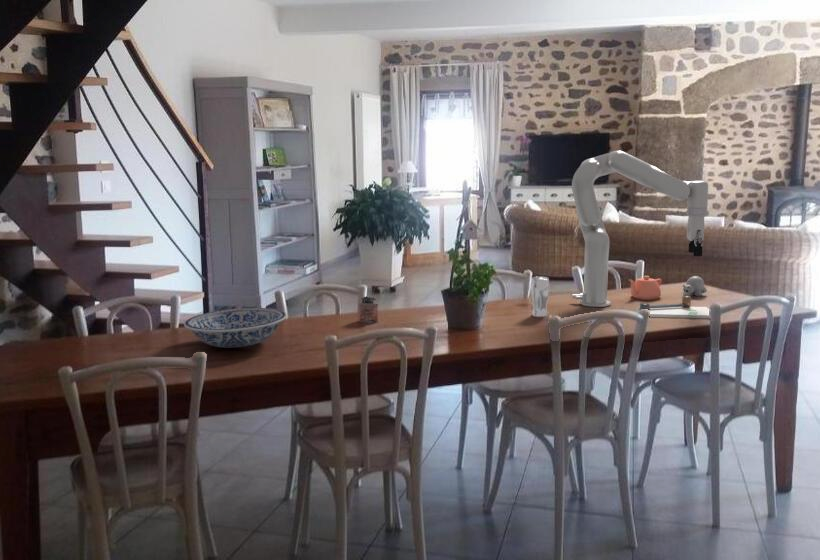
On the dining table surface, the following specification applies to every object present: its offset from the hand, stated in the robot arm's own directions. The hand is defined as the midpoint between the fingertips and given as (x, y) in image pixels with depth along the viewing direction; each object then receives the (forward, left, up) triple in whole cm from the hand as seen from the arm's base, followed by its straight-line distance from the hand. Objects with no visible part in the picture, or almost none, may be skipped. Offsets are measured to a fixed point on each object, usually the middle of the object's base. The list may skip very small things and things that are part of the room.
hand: (695, 254), depth 305 cm
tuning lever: (-12, -10, -20) cm, 26 cm away
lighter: (-127, -39, -22) cm, 134 cm away
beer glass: (-62, -22, -22) cm, 69 cm away
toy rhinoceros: (+4, +22, -22) cm, 31 cm away
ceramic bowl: (-165, -77, -22) cm, 183 cm away
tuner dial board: (-9, -13, -22) cm, 27 cm away
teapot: (-17, +17, -22) cm, 32 cm away
